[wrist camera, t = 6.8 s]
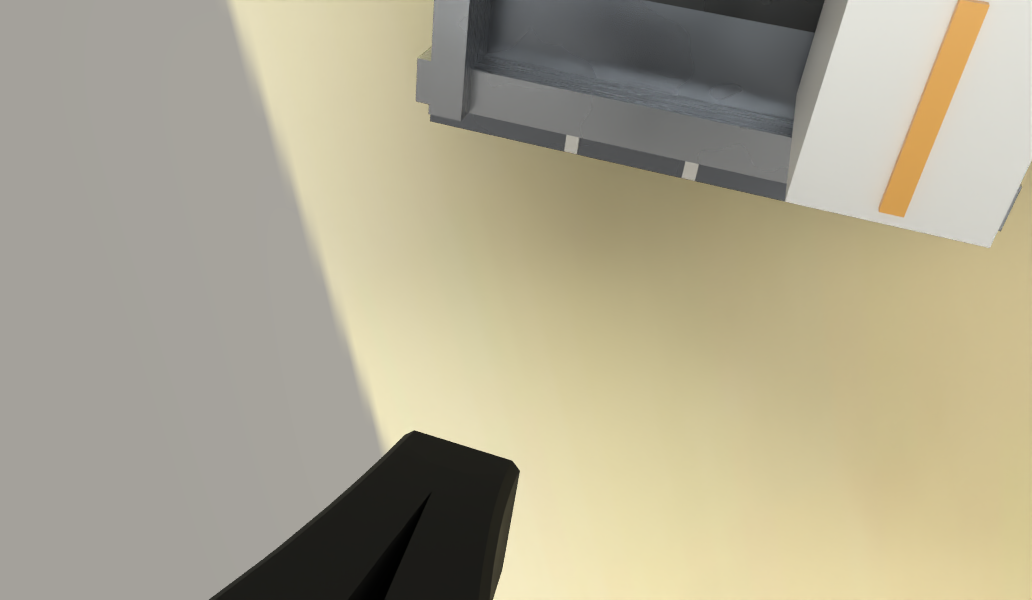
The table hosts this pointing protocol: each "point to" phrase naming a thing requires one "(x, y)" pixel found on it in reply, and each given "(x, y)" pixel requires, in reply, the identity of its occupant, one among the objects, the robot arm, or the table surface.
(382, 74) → the table surface
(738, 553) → the table surface
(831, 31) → the fader
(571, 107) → the grey divided tray
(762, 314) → the table surface
